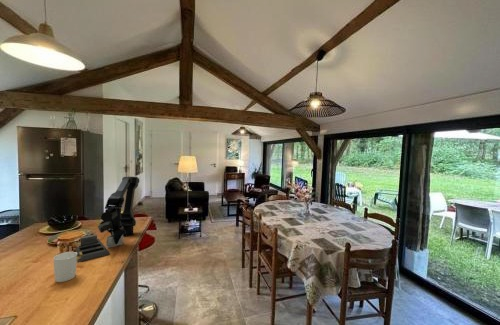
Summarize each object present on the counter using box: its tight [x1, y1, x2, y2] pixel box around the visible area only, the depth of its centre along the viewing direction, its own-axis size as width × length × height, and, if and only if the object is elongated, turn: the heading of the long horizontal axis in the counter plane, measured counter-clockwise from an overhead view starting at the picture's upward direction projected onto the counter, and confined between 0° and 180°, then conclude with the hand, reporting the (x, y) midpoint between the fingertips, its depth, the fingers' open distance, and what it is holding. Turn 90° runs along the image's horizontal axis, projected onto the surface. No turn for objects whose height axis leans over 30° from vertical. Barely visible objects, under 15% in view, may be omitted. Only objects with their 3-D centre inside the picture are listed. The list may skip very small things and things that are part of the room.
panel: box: [106, 235, 124, 249], centre depth 131 cm, size 8×2×6 cm, turn 136°
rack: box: [76, 234, 111, 263], centre depth 122 cm, size 14×21×6 cm, turn 46°
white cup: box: [53, 251, 78, 283], centre depth 96 cm, size 8×8×10 cm
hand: (114, 242), depth 131 cm, fingers open, 5 cm apart
